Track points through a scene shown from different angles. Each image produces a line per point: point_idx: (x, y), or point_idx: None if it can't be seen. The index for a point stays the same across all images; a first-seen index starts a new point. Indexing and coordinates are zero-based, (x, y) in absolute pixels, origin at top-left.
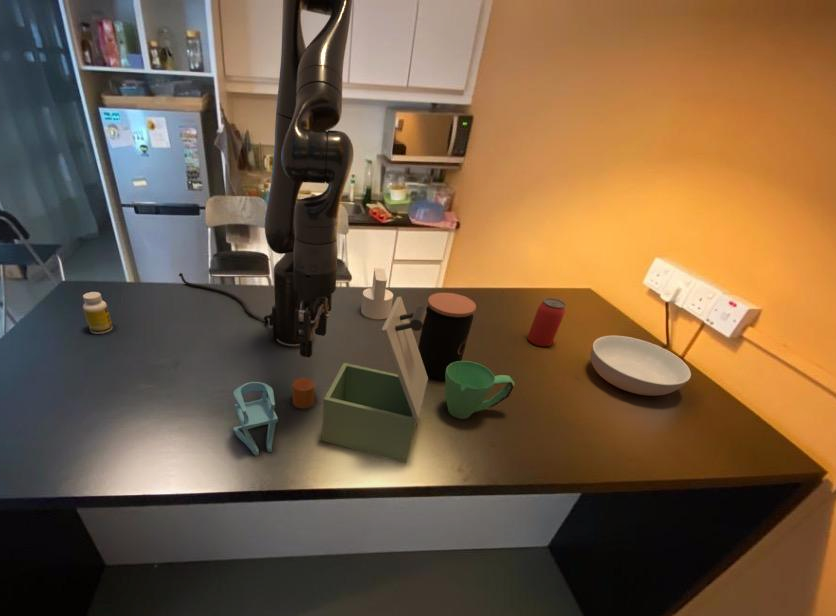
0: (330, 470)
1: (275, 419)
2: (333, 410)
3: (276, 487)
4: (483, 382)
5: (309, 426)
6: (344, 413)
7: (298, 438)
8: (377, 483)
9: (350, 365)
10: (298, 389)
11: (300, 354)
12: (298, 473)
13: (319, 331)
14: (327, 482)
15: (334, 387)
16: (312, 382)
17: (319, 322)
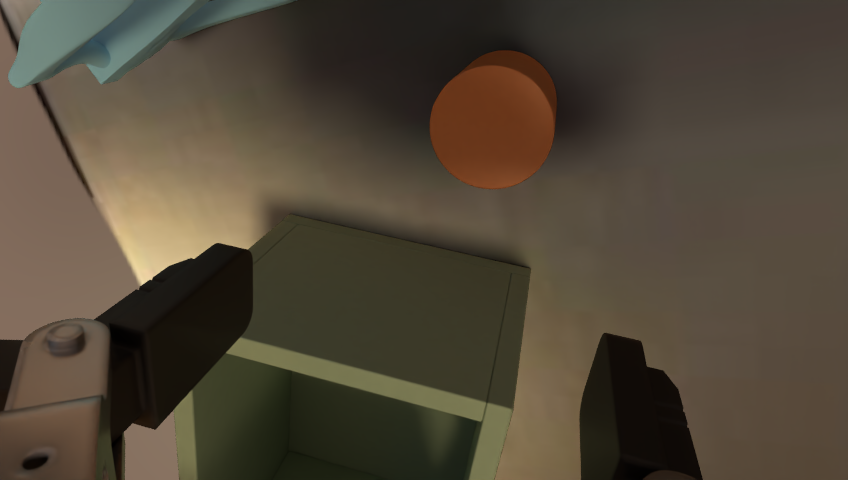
0: (179, 251)
1: (94, 73)
2: None
3: (55, 98)
4: None
5: (349, 158)
6: None
7: (274, 127)
8: None
9: (489, 439)
10: (435, 111)
11: (219, 246)
12: (130, 156)
13: (595, 387)
14: (136, 246)
15: (266, 363)
16: (514, 176)
17: (601, 461)
